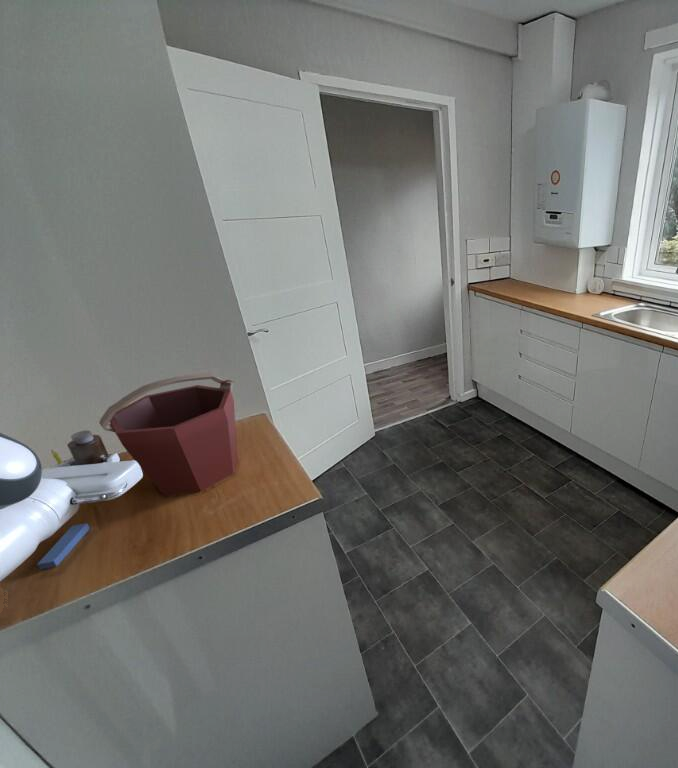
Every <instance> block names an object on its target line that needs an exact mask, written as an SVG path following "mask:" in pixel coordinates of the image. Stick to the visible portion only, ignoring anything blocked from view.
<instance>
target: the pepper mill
mask: <svg viewBox="0 0 678 768" xmlns="http://www.w3.org/2000/svg"><path fill="white" fill-rule="evenodd" d="M70 438H71V441H69V442H68V443H67V445H66V446H67V448H68V450H69V451H70V452H69V453H70V454H71V457H73V458H74V460H75V462H76V465H88V464H99V463H104V461H103V459H102V458H104V457H105V456H106V455H107V454H109V453H108V451H107V449H106V446H105V443H104V441H103V439H102V436H100V435H99V434H93V433H92V431H91V430H87V429H86V430H81V431H77V432H75V433H73V434H72V435H70ZM110 501H111V500H107V501H100V502H99V503H106V502H110Z"/></svg>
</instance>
